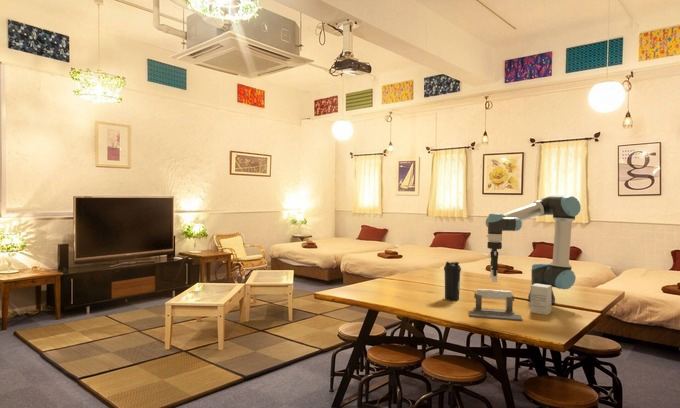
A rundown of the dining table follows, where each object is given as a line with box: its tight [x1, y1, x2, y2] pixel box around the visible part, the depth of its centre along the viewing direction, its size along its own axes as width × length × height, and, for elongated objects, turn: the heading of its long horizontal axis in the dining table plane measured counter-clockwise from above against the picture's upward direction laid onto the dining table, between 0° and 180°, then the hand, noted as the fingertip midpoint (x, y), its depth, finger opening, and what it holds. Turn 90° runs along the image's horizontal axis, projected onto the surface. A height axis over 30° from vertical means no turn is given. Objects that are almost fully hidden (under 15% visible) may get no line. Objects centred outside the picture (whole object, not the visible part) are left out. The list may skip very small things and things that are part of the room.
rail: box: [476, 288, 513, 301], centre depth 244 cm, size 18×4×4 cm, turn 74°
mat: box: [468, 310, 524, 322], centre depth 233 cm, size 26×9×1 cm, turn 74°
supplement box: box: [529, 283, 553, 316], centre depth 243 cm, size 9×9×15 cm
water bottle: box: [443, 261, 462, 302], centre depth 272 cm, size 10×10×23 cm
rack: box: [473, 291, 515, 315], centre depth 244 cm, size 21×6×10 cm, turn 74°
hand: (493, 279), depth 244 cm, fingers open, 13 cm apart
